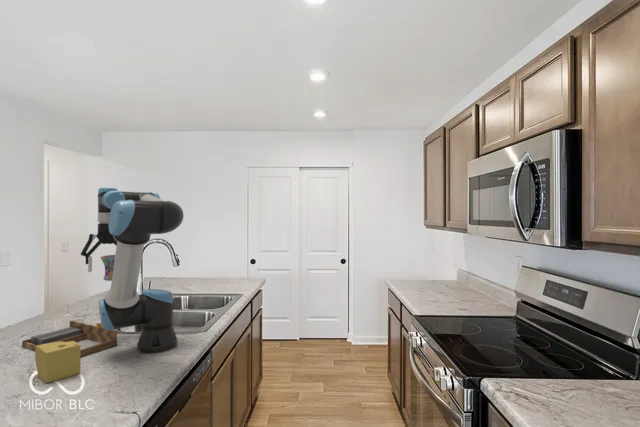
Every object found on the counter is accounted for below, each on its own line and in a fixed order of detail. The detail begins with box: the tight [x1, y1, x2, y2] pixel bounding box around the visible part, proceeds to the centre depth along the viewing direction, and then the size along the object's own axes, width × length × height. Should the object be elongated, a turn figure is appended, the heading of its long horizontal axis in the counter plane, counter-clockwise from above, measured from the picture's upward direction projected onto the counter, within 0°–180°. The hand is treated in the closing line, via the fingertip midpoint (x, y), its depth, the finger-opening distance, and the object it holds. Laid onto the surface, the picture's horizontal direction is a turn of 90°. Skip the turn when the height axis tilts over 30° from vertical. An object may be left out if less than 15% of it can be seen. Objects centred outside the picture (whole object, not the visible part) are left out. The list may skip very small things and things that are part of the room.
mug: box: [100, 254, 115, 282], centre depth 165 cm, size 12×9×11 cm
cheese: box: [34, 341, 82, 384], centre depth 124 cm, size 10×11×10 cm
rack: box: [21, 320, 118, 358], centre depth 151 cm, size 32×19×8 cm, turn 62°
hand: (107, 271), depth 164 cm, fingers open, 13 cm apart
